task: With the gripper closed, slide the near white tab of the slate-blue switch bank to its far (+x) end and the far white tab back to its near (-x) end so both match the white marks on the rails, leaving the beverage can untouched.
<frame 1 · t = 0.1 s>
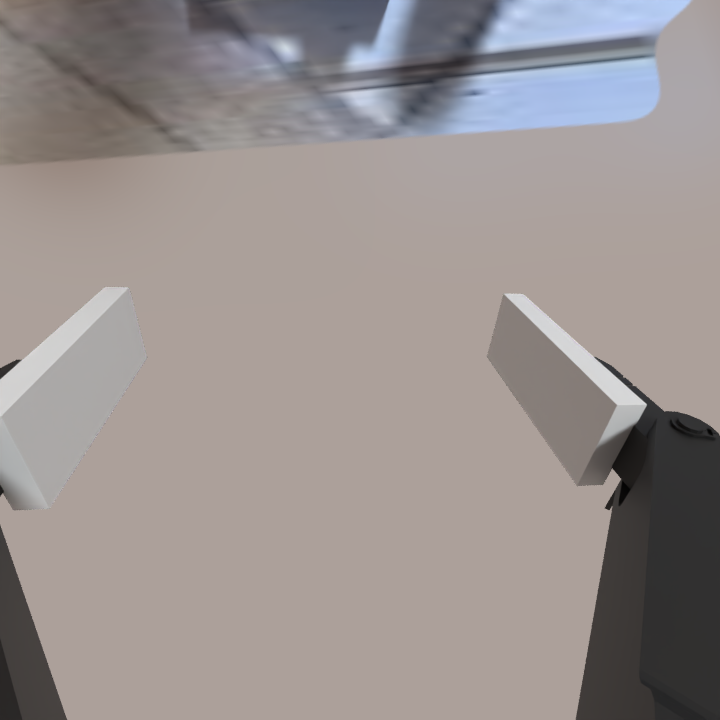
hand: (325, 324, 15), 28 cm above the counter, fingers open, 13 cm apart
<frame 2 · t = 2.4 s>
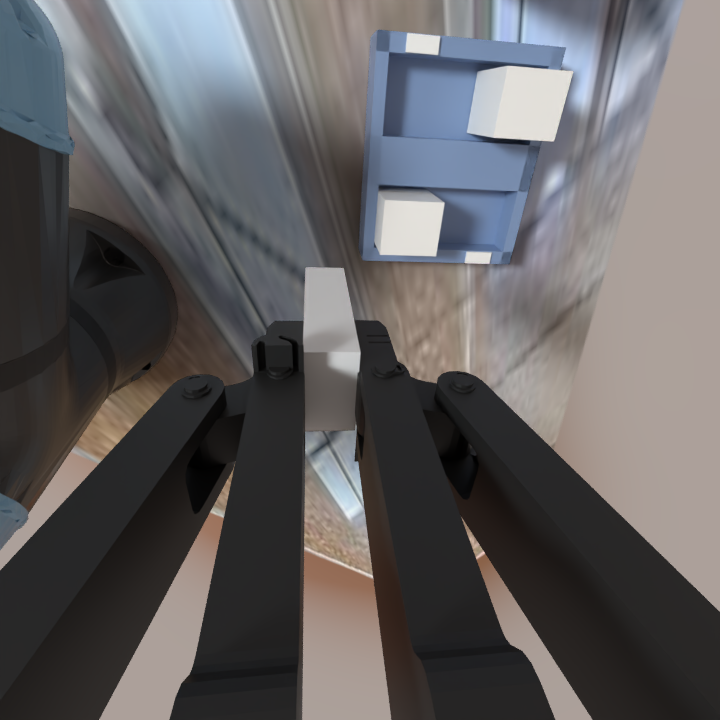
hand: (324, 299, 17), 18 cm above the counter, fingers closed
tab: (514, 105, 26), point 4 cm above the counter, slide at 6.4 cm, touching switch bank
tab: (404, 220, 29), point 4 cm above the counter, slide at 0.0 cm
switch bank: (441, 159, 31), on the counter
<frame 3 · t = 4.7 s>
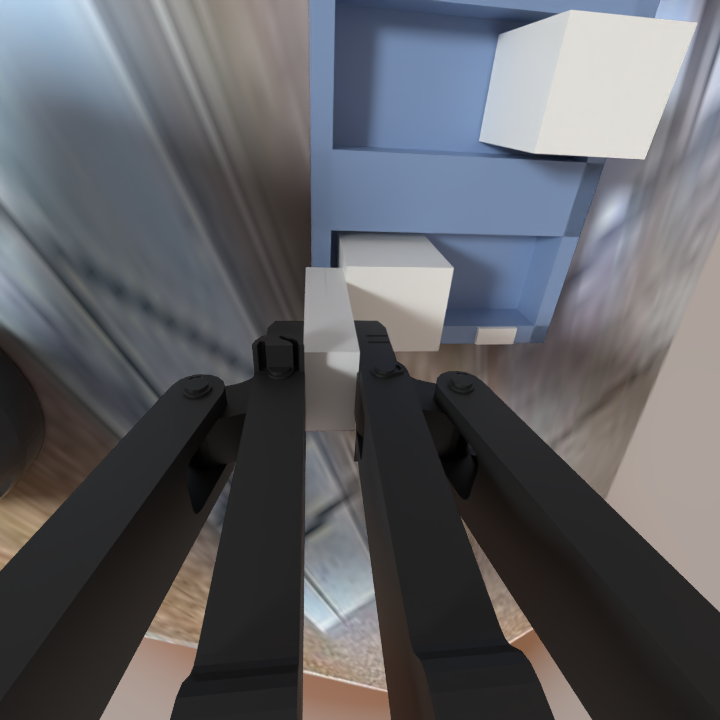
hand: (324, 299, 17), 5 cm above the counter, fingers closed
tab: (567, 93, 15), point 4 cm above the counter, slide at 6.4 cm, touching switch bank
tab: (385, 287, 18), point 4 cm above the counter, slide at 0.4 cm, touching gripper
switch bank: (436, 183, 19), on the counter
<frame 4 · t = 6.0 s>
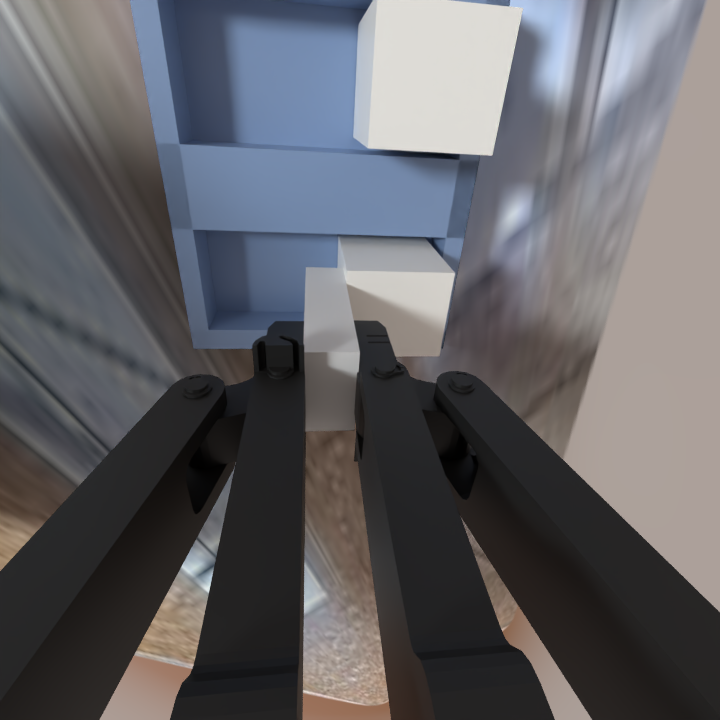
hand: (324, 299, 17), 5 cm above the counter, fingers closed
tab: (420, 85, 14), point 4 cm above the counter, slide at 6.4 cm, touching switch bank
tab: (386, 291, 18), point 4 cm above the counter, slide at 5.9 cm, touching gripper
switch bank: (322, 182, 19), on the counter
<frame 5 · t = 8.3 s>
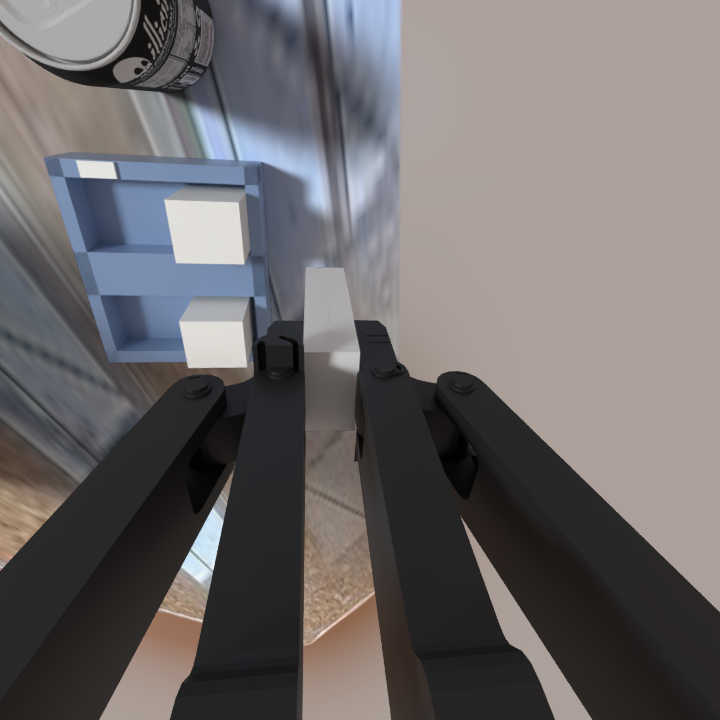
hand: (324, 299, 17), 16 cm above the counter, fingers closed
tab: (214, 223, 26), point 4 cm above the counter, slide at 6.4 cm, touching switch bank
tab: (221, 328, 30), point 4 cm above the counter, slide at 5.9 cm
beverage can: (158, 24, 23), on the counter
switch bank: (186, 260, 30), on the counter
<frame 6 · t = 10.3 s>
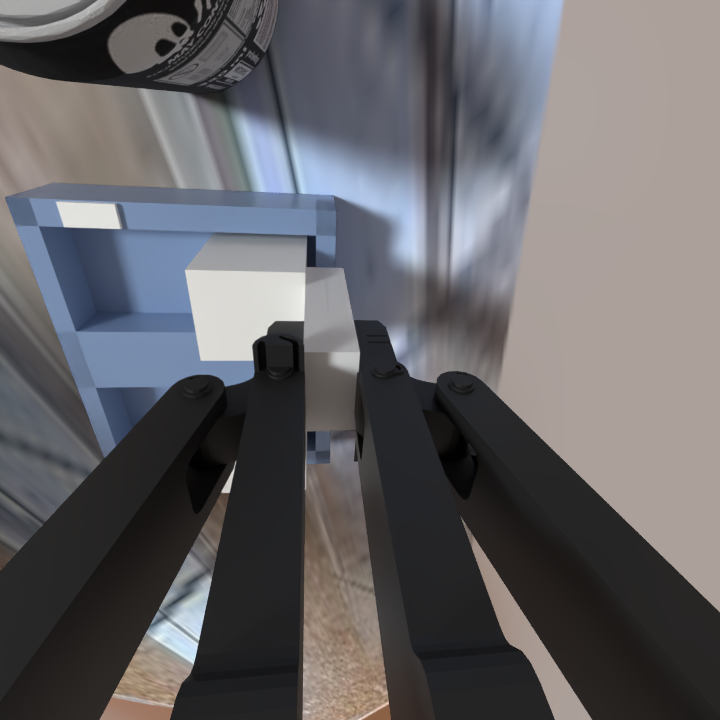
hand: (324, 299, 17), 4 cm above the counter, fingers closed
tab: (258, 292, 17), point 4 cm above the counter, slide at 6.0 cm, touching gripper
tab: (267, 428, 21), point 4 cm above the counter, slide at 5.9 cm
switch bank: (218, 329, 22), on the counter
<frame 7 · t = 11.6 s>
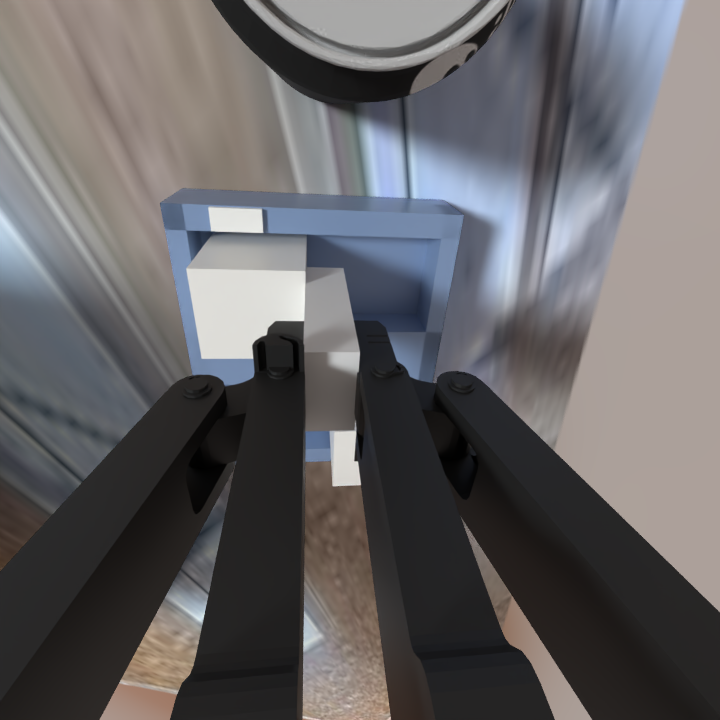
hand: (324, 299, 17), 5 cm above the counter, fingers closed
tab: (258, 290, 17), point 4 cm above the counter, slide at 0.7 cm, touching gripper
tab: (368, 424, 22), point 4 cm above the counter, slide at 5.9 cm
beverage can: (334, 1, 15), on the counter
switch bank: (317, 328, 22), on the counter
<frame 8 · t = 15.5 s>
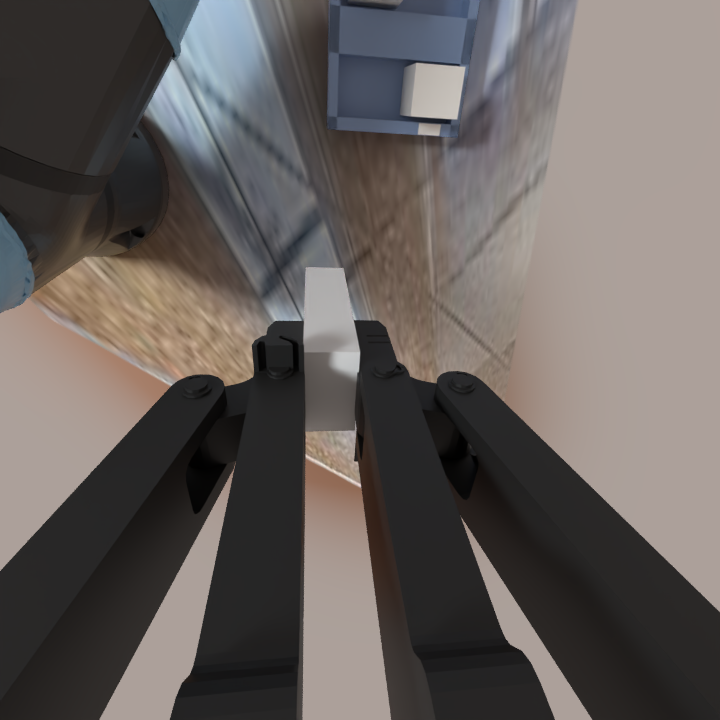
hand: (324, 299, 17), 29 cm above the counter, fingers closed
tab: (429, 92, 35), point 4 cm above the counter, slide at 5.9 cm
switch bank: (395, 41, 36), on the counter
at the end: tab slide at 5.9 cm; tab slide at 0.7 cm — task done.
